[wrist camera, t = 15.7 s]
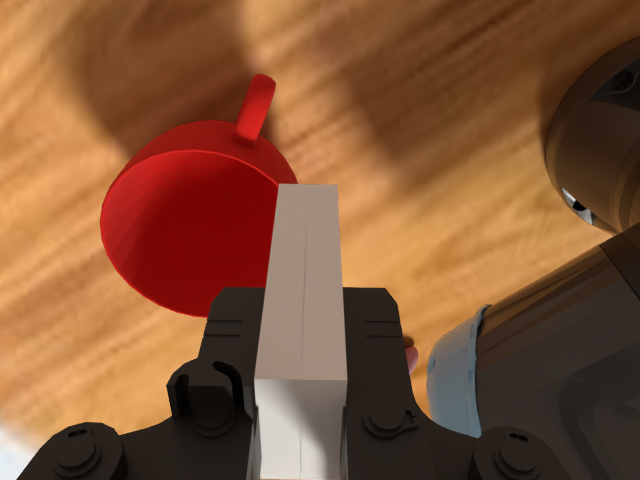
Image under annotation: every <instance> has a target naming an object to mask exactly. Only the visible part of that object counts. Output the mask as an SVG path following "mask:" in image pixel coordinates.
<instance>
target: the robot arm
mask: <svg viewBox="0 0 640 480" xmlns="http://www.w3.org/2000/svg"><path fill="white" fill-rule="evenodd" d="M546 165H547V170H548V174H549V177H550V179H551V182H552V184H553V186H554V188H555V189H556V191H557V192H558V193H559V195H560V196H561V198H562V199H563V200H564V202H565V203H566V204H567V206H568V207H569V208H570V209H571V210H572V211H573V212H574V213H575V214H576V215H578V216H579V217H580V218H581V219H583V220H584V221H586V222H587V223H589V224H591V225H593V226H595V227H597V228H599V229H601V230H603V231H605V232H607V233H610V234H612V235H614V237H612V238H610V239H608V240H607V241H605V242H603V243H601V244H599V245H597V246H595V247H593V248H592V249H590V250H588V251H586V252H585V253H583V254H581V255H580V256H578V257H576V258H574V259H573V260H571V261H569V262H567V263H566V264H564V265H562V266H561V267H559V268H557V269H555V270H554V271H552V272H550V273H549V274H547V275H545V276H543V277H542V278H540V279H538V280H537V281H535V282H533V283H531V284H530V285H528V286H526V287H524V288H522V289H521V290H519V291H517V292H515V293H513V294H512V295H510V296H508V297H506V298H504V299H503V300H501V301H499V302H497V303H495V304H494V305H489V304H486V305H484V306H483V307H481V308H480V309H479V310H478V311H477V312H476V314H475V315H474V316H472V317H471V318H469V319H468V320H466V321H465V322H463V323H462V324H460V325H458V326H457V327H455V328H454V329H452V330H451V331H449V332H448V333H446V334H445V335H443V336H442V337H441V338H440V339H439V340H438V341H437V342H436V344H435V345H434V347H433V349H432V351H431V354H430V356H429V360H428V365H427V383H426V385H427V396H428V404H429V409H430V414H431V419H432V420H431V419H429V418H428V417H427V416H426V415H425V414H424V413H423V412H422V411H421V409H420V408H419V406H418V405H417V403H416V401H415V398H414V395H413V391H412V385H411V380H410V374H409V368H408V363H407V357H406V351H405V345H404V340H403V334H402V328H401V325H400V317H399V311H398V305H397V303H396V301H395V300H394V299H393V298H392V296H391V295H390V294H389V292H388V291H387V290H386V288H354V287H342V268H341V249H340V230H339V210H338V191H337V185H320V184H279V189H278V197H277V204H276V212H275V220H274V228H273V236H272V243H271V251H270V259H269V267H268V275H267V282H266V288H264V287H224V288H223V290H222V291H221V292H220V293H219V294H218V295H217V296H216V298H215V299H214V300H213V301H212V302H211V306H210V311H209V315H208V319H207V323H206V327H205V331H204V338H203V339H202V343H201V347H200V351H199V355H198V358H196V359H194V360H191V361H189V362H187V363H184V364H183V365H182V366H181V367H180V368H179V369H177V370H176V371H175V372H174V373H173V374H172V376H171V378H170V380H169V381H168V383H167V385H166V386H167V392H168V397H169V402H170V407H171V412H172V416H171V417H170V418H168V419H166V420H164V421H163V422H161V423H159V424H157V425H154V426H151V427H148V428H145V429H141V430H138V431H134V432H130V433H126V434H123V435H118V434H117V432H116V431H115V429H114V428H112V427H109V426H107V425H105V424H103V423H95V422H84V423H81V424H77V425H73V426H69V427H67V428H65V429H64V430H62V431H60V432H58V433H57V434H55V435H53V436H52V437H51V438H50V439H49V440H48V441H47V442H46V443H45V444H44V445H43V446H42V447H41V448H40V449H39V450H38V452H37V453H36V454H35V456H34V457H33V458H32V460H31V461H30V462H29V464H28V465H27V466H26V468H25V469H24V470H23V472H22V473H21V474H20V475H19V477H18V478H17V479H16V480H260V475H261V479H312V480H640V37H638V38H636V39H634V40H631V41H629V42H627V43H625V44H623V45H621V46H619V47H618V48H616V49H614V50H613V51H611V52H610V53H608V54H607V55H605V56H604V57H602V58H601V59H600V60H599V61H597V62H596V63H595V64H594V65H592V66H591V67H590V68H589V69H588V70H587V71H586V72H585V73H584V74H583V75H582V76H581V77H580V78H579V79H578V80H577V81H576V82H575V84H574V85H573V86H572V87H571V88H570V90H569V91H568V93H567V94H566V95H565V97H564V99H563V100H562V102H561V103H560V105H559V107H558V109H557V111H556V113H555V115H554V117H553V120H552V122H551V125H550V129H549V132H548V136H547V142H546Z"/></svg>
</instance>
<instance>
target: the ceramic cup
mask: <svg viewBox="0 0 640 480" xmlns="http://www.w3.org/2000/svg"><path fill="white" fill-rule="evenodd" d="M275 88H276V83H275V81H274V80H273V79H272V78H270V77H268V76H266V75H263V74H256V75H255V76H254V77H253V79H252V82H251V84H250V86H249V89H248V91H247V94H246V97H245V99H244V102H243V104H242V107H241V109H240V112H239V114H238V117H237V120H236V122H235V123H231V122H226V121H217V120H205V121H194V122H190V123H187V124H183V125H179V126H176V127H174V128H172V129H170V130H168V131H166V132H164V133H162V134H160V135H159V136H157V137H156V138H154V139H153V140H152V141H151V142H149V143H148V144H147V145H146V146H145V147H143V148H142V149H141V150H140V151H139V152H138V153H137V154H136V155H135V156H134V157H133V158H132V159H131V160H130V161H129V162H128V163H127V165H126V166H125V167H124V168H123V170H122V171H121V172H120V174H119V175H118V176H117V178H116V179H115V180H114V182H113V183H112V184H111V186H110V187H109V189H108V192H107V194H106V197H105V199H104V202H103V204H102V210H101V218H100V229H101V237H102V242H103V245H104V247H105V250H106V253H107V256H108V258H109V259H110V261H111V263H112V264H113V266H114V268H115V269H116V271H117V272H118V273H119V274H120V275H121V277H122V278H123V279H124V280H125V281H126V282H127V283H128V284H129V285H130V286H131V287H132V288H133V289H135V290H136V291H137V292H138V293H140V294H141V295H142V296H144V297H145V298H147V299H149V300H150V301H152V302H154V303H156V304H157V305H159V306H162V307H164V308H167V309H169V310H172V311H174V312H177V313H181V314H185V315H190V316H194V317H204V318H208V315H209V311H210V306H211V302H212V301H213V300H214V299H215V298H216V296H217V295H218V294H219V293H220V292H221V291H222V290H223V288H224V287H264V288H266V282H267V275H268V267H269V259H270V251H271V243H272V236H273V228H274V220H275V212H276V204H277V197H278V189H279V184H298V183H297V180H296V177H295V175H294V173H293V171H292V169H291V168H290V166H289V164H288V163H287V161H286V159H285V158H284V157H283V155H282V154H281V153H280V152H279V151H278V150H277V149H276V148H275V146H274V145H273V144H272V143H270V142H269V141H268V140H266V139H265V138H264V137H263V136H261V135H260V134H259V131H260V129H261V127H262V124H263V122H264V119H265V117H266V114H267V112H268V109H269V107H270V104H271V101H272V98H273V95H274V92H275Z"/></svg>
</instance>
